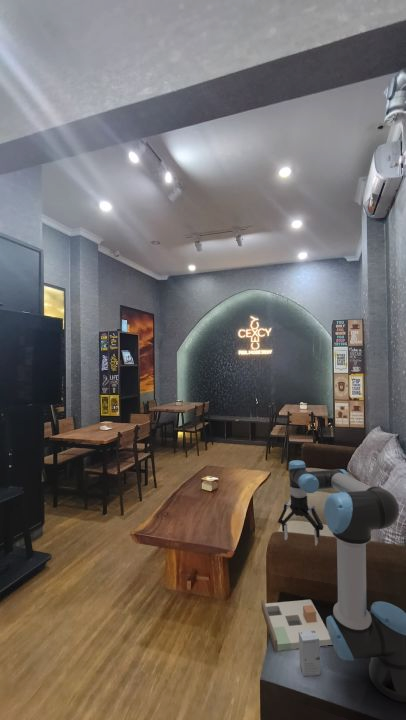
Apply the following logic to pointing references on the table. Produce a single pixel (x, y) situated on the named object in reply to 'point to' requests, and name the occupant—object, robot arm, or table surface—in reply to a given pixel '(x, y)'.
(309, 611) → the block
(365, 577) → the robot arm
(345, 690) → the table surface
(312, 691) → the table surface
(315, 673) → the skincare box
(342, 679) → the table surface
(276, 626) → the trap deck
